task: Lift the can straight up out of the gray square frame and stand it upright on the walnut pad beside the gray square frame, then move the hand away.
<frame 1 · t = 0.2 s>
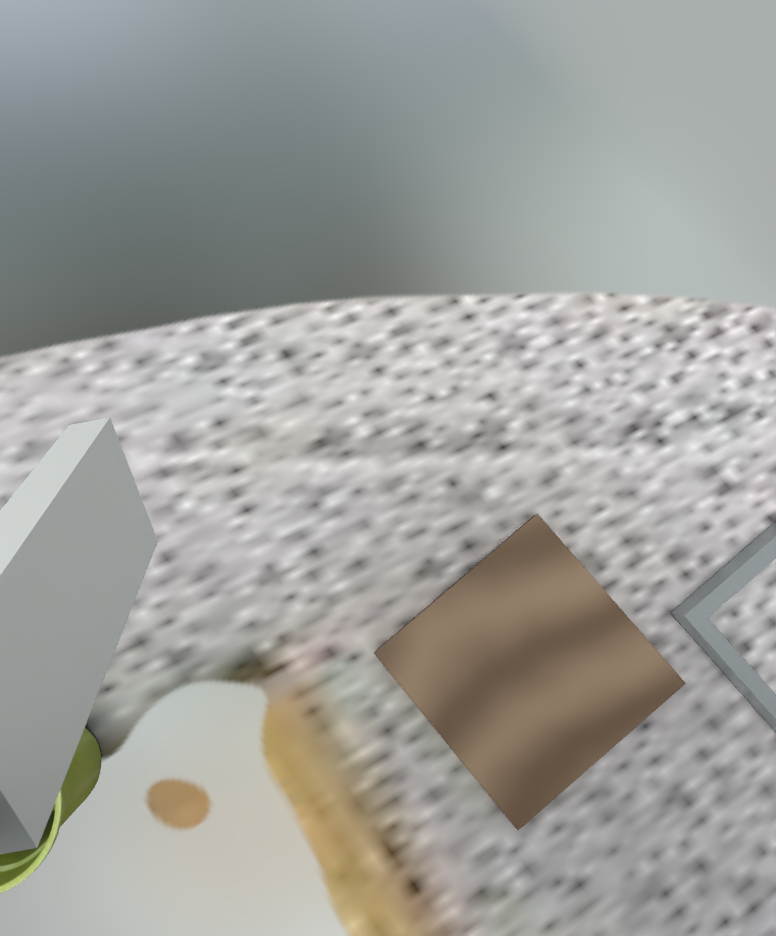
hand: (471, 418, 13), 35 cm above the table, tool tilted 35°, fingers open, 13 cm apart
pad: (525, 665, 47), on the table
plant pot: (58, 761, 48), on the table
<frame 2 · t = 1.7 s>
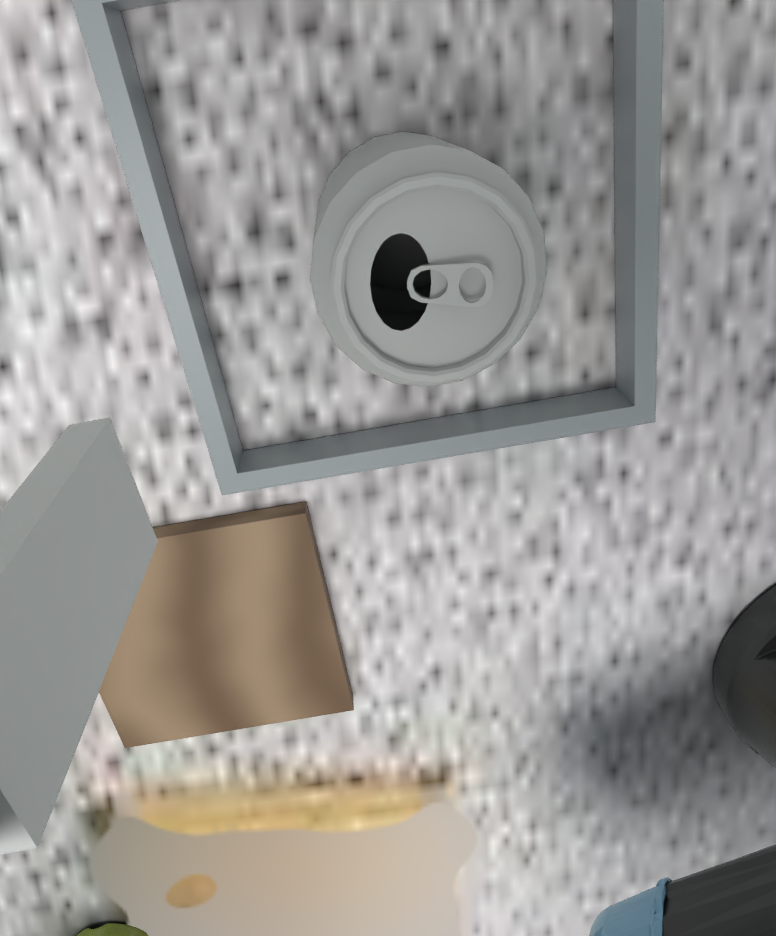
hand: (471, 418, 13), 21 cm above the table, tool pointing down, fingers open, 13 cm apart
pad: (211, 626, 41), on the table
gray square frame: (401, 224, 32), on the table
can: (401, 223, 32), resting in gray square frame
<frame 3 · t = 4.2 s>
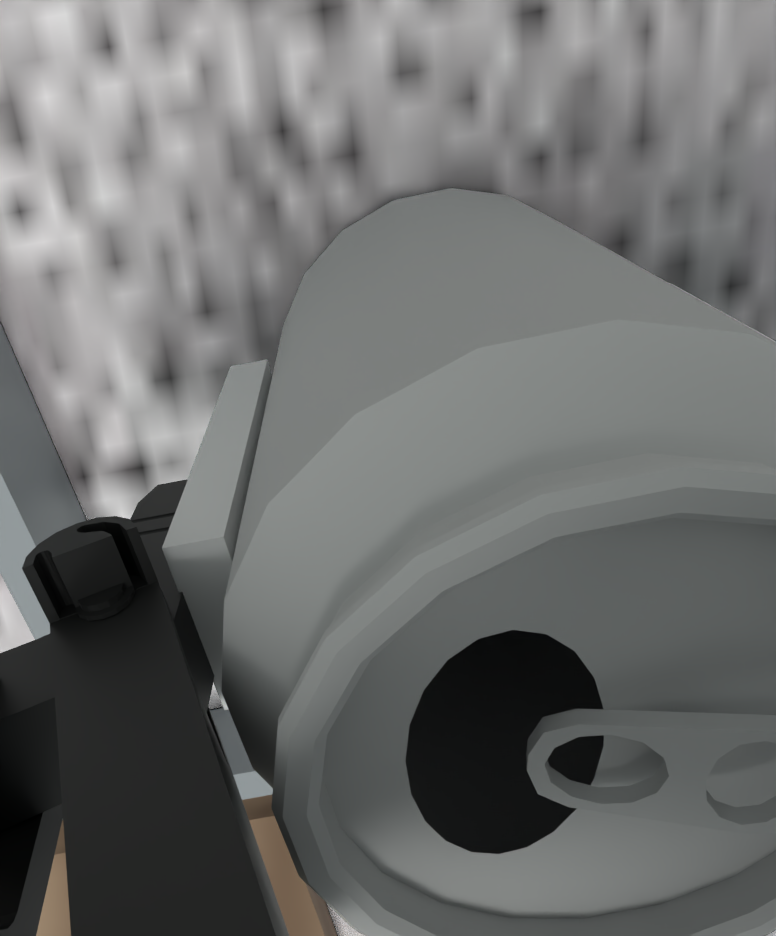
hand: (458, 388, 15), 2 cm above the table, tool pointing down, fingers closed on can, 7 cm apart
gray square frame: (444, 356, 17), on the table
can: (442, 352, 17), resting in gray square frame, touching gripper
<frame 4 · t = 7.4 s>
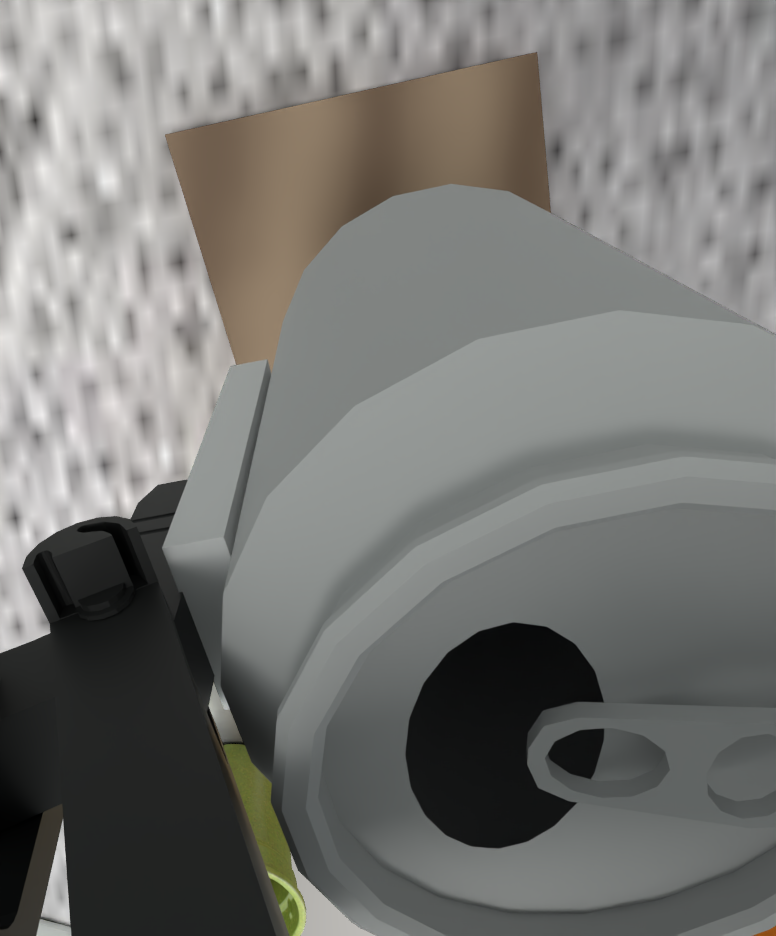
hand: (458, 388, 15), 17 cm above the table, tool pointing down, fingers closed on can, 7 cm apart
pad: (384, 275, 31), on the table
plant pot: (234, 774, 44), on the table
can: (442, 349, 17), point 15 cm above the table, touching gripper
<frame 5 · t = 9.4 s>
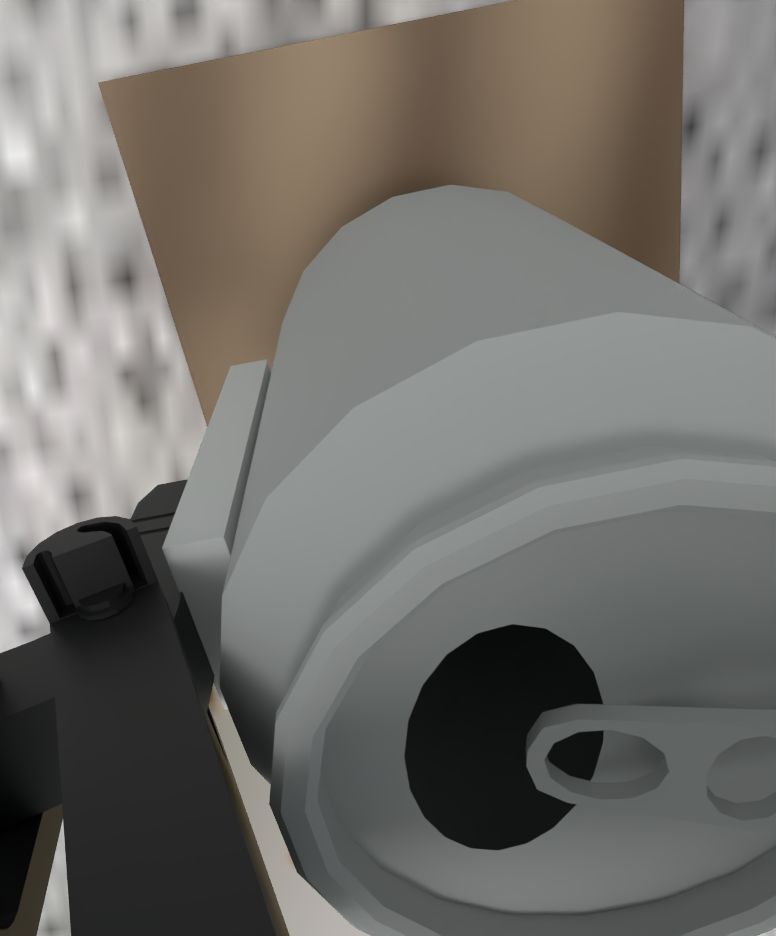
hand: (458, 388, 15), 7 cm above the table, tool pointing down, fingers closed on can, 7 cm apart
pad: (426, 303, 21), on the table
can: (442, 349, 17), point 5 cm above the table, touching gripper
when the fingers open (4 cm above the table, at t = 10.9 s): can stays where it is, resting on pad.
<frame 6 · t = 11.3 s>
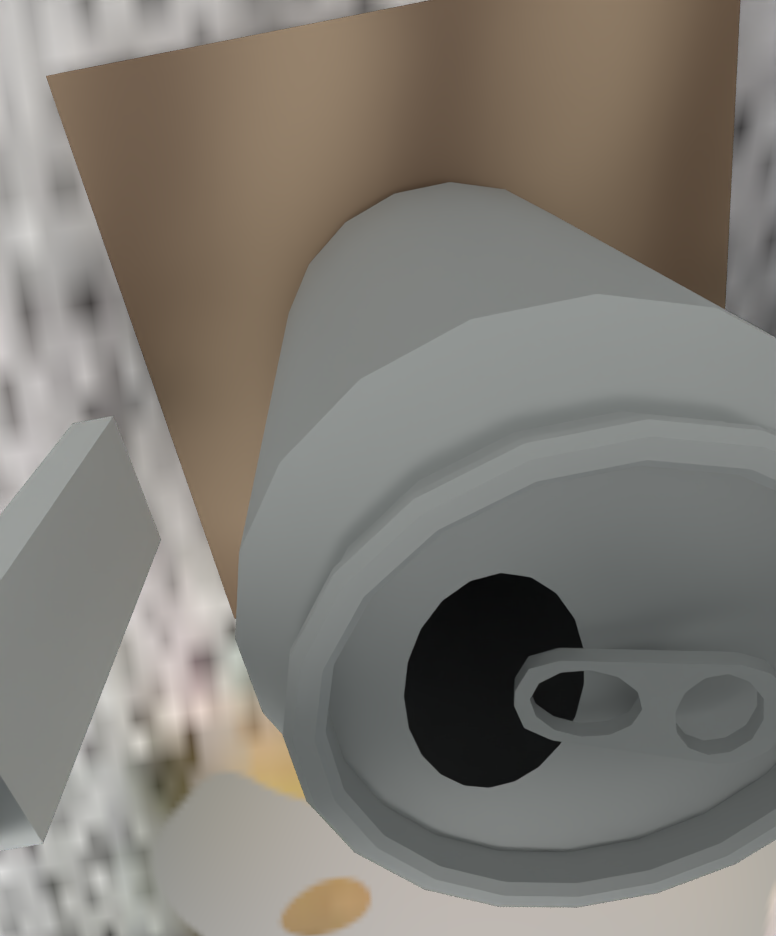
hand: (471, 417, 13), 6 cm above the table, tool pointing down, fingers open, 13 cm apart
pad: (433, 330, 18), on the table
can: (441, 341, 18), point 1 cm above the table, touching pad
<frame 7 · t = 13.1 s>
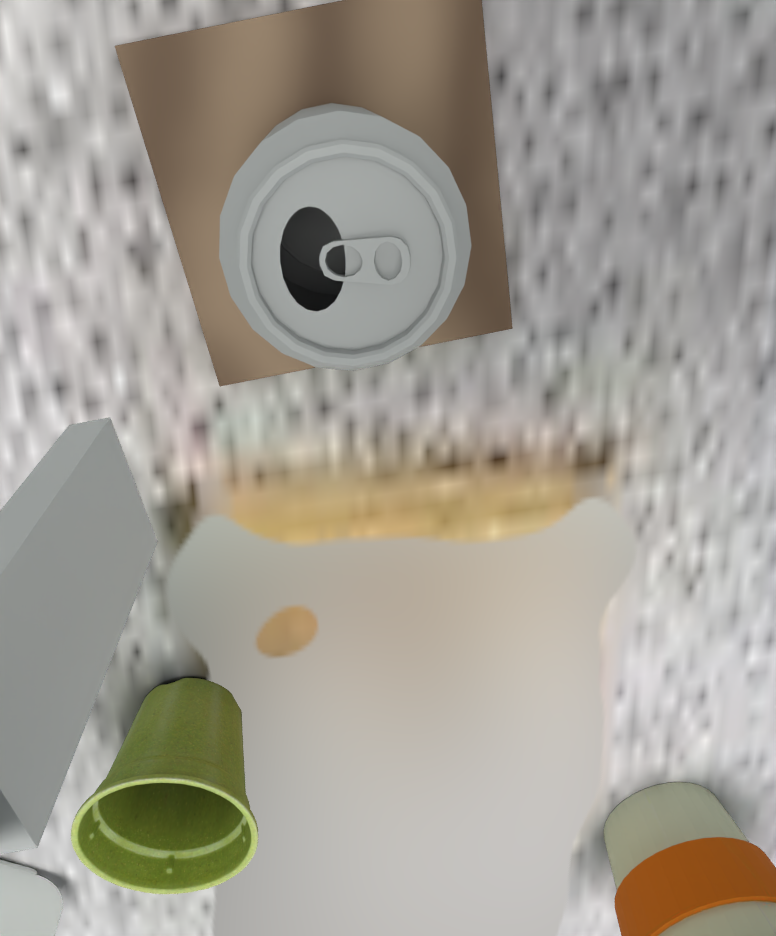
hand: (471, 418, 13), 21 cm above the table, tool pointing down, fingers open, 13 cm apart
pad: (334, 198, 31), on the table
reusable coffee cup: (660, 820, 54), on the table
plant pot: (192, 710, 45), on the table
can: (336, 201, 31), point 1 cm above the table, touching pad
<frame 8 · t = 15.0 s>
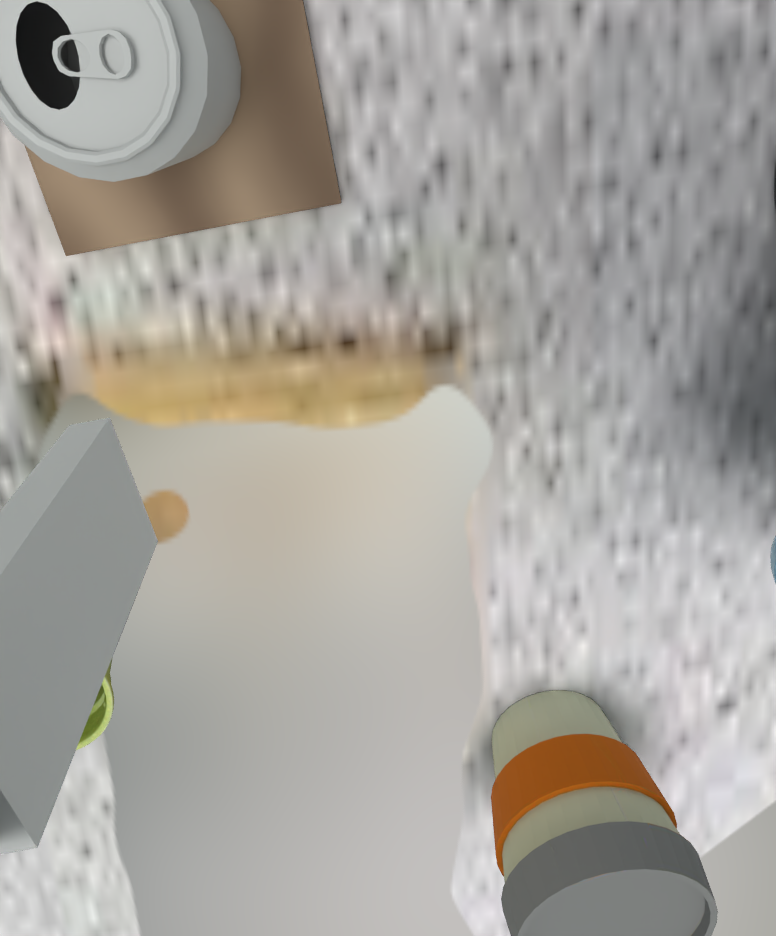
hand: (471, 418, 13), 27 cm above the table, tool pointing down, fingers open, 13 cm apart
pad: (164, 72, 34), on the table
reusable coffee cup: (548, 731, 56), on the table
plant pot: (75, 597, 47), on the table
can: (160, 70, 33), point 1 cm above the table, touching pad
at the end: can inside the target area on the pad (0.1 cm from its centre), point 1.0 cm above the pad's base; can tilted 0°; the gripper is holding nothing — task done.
